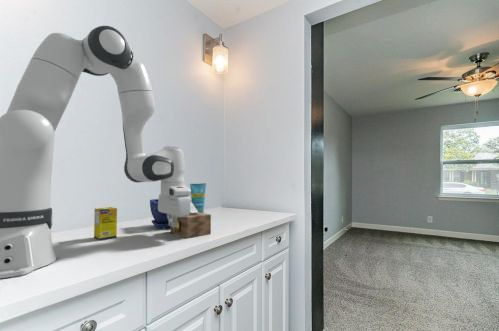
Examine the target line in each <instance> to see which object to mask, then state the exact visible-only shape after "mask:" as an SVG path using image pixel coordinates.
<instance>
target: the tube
mask: <svg viewBox="0 0 499 331" xmlns="http://www.w3.org/2000/svg"><path fill="white" fill-rule="evenodd" d="M189 185H190V188H189V189H190V190H191V195H190V200H191V201H192V203H193V205H194V206H195V208H196V209H197V211H198V212H200V213H205V199H206V198H205V197H206V190H207V189H206V187H207V183H206V182H205V183H204V182H202V183H201V182H200V183H190V184H189Z"/></svg>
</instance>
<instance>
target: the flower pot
mask: <svg viewBox="0 0 499 331" xmlns="http://www.w3.org/2000/svg"><path fill="white" fill-rule="evenodd" d="M149 208H150V213H151V215H152V217H153V220H151V223H152V224H153V225H154V226H155V227H156V228H157V229H160V230H163V229H171V226H169V221H168V218H167V214H166V213H162V212H159V211H158V198H155V199H154V198H153V199H150V200H149Z"/></svg>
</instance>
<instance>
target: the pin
mask: <svg viewBox="0 0 499 331" xmlns="http://www.w3.org/2000/svg"><path fill="white" fill-rule="evenodd" d="M180 228H181V222H179V220H177V222H176V227H172V229H173V231H174V232H179V231H180Z"/></svg>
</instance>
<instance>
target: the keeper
mask: <svg viewBox="0 0 499 331" xmlns="http://www.w3.org/2000/svg"><path fill="white" fill-rule="evenodd" d="M190 214H198V211H197V209H196V208H195V206H194V205H193V203H192V201H191V199H190Z"/></svg>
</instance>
